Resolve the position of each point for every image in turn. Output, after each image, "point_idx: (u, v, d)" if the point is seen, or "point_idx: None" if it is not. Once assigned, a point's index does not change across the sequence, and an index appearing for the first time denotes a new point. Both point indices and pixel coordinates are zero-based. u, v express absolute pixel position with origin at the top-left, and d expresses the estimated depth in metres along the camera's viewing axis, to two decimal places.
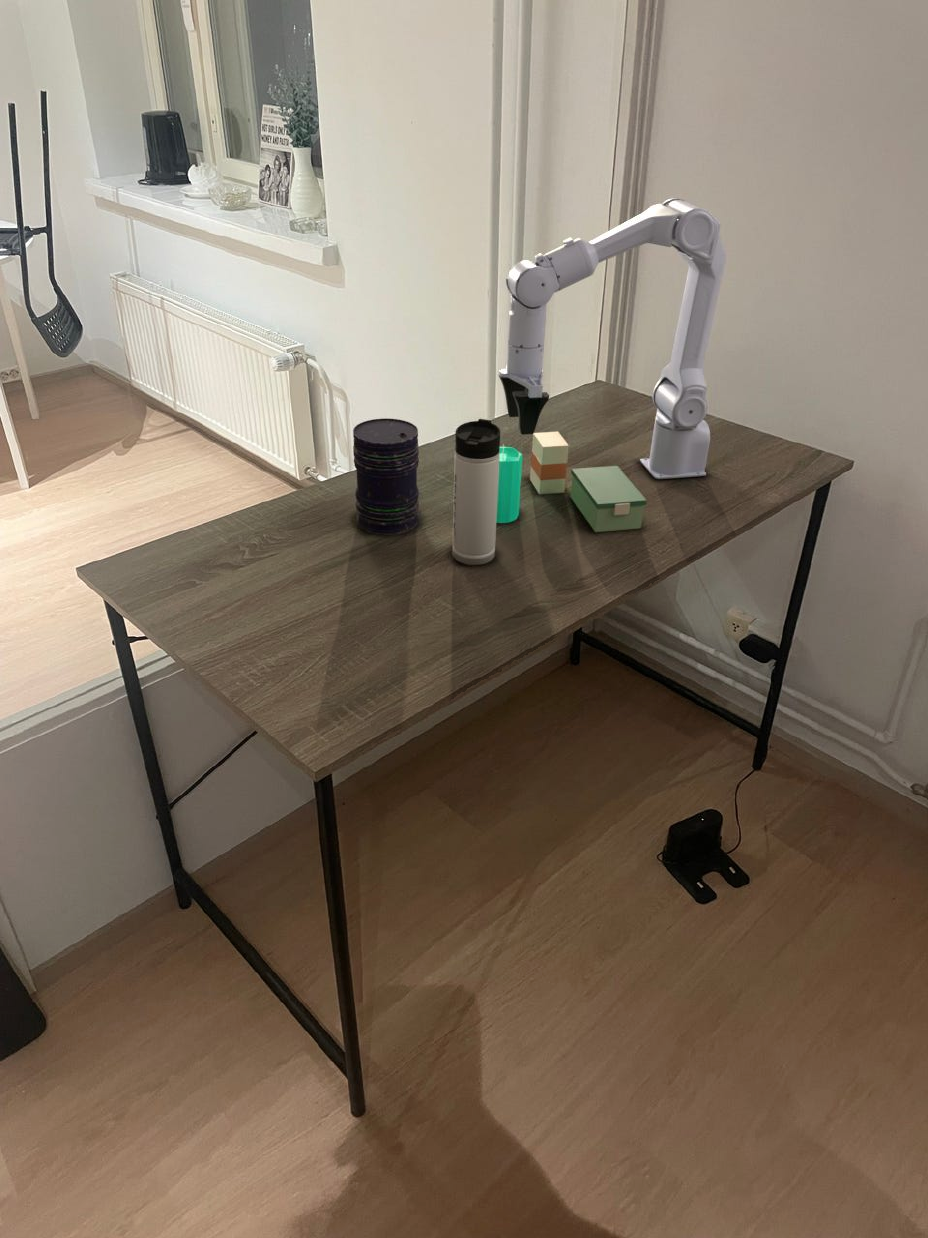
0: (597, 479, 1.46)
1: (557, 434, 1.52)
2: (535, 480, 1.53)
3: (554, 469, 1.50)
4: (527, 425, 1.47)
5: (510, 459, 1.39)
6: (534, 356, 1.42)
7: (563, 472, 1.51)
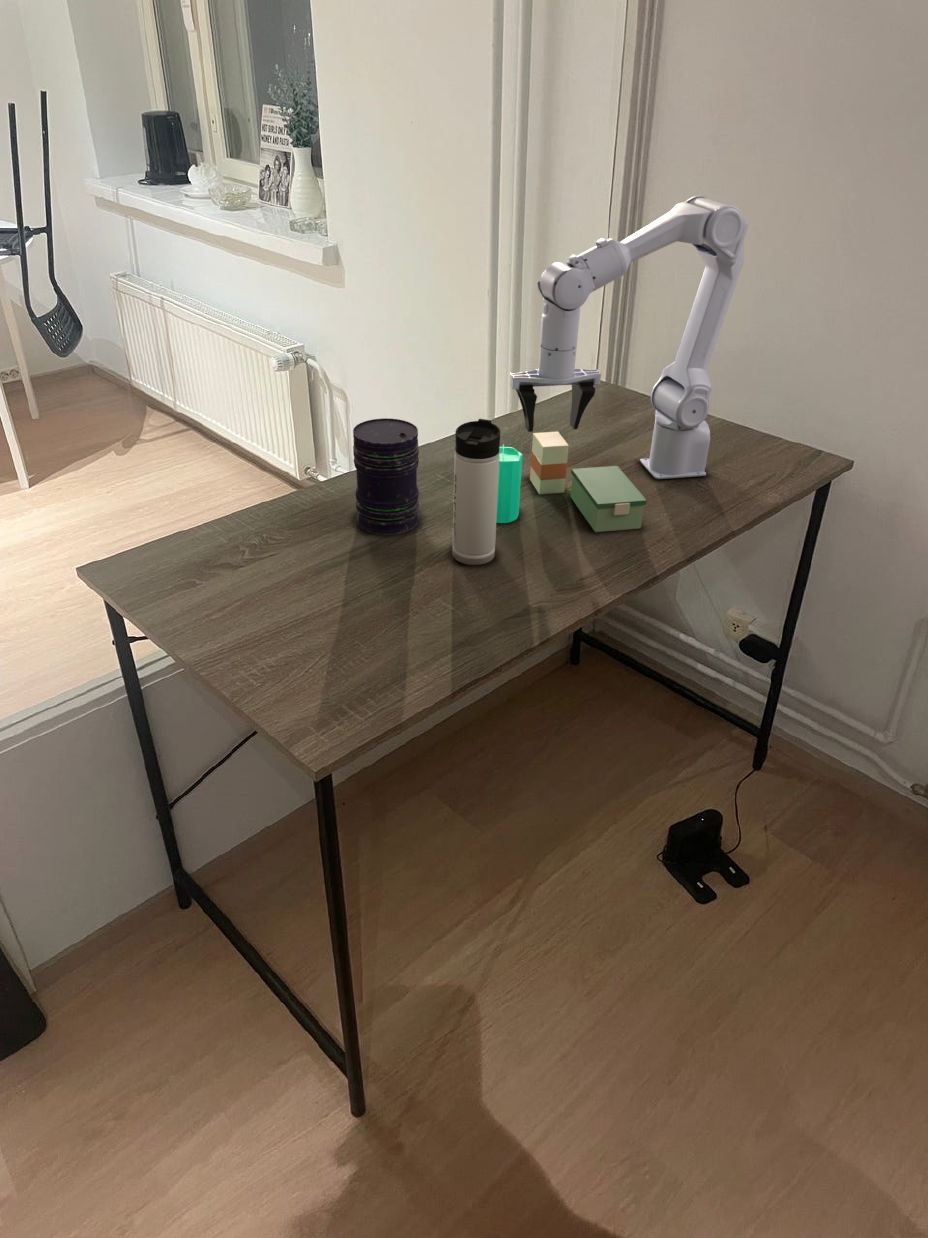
0: (597, 479, 1.46)
1: (557, 434, 1.52)
2: (535, 480, 1.53)
3: (554, 469, 1.50)
4: (526, 420, 1.48)
5: (510, 459, 1.39)
6: (541, 356, 1.41)
7: (563, 472, 1.51)
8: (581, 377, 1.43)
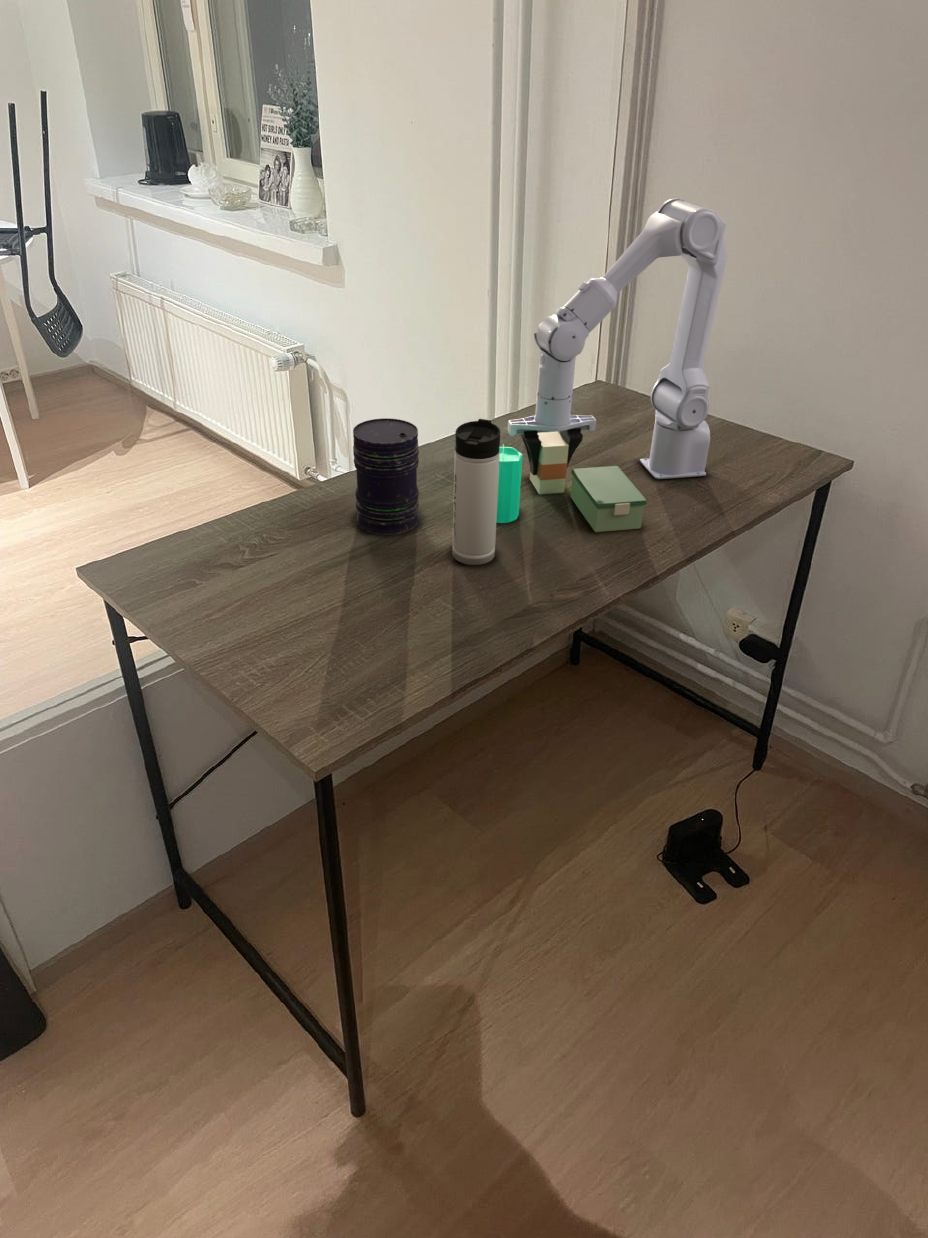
0: (597, 479, 1.46)
1: (557, 434, 1.52)
2: (535, 480, 1.53)
3: (554, 469, 1.50)
4: (531, 463, 1.52)
5: (510, 459, 1.39)
6: (538, 404, 1.46)
7: (563, 472, 1.51)
8: (577, 424, 1.48)
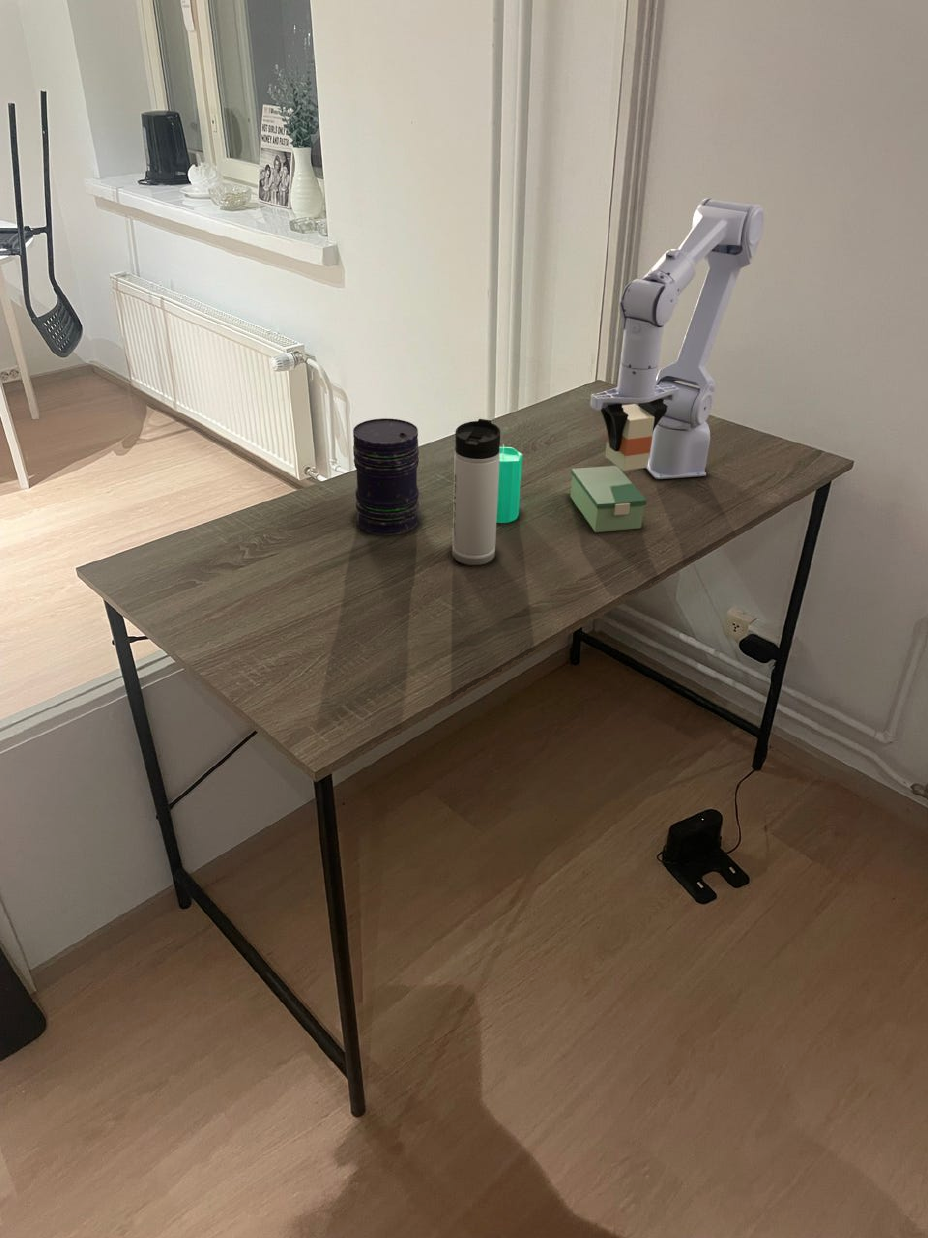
0: (597, 479, 1.46)
1: (636, 406, 1.44)
2: (616, 456, 1.45)
3: (639, 443, 1.42)
4: (612, 439, 1.44)
5: (510, 459, 1.39)
6: (624, 375, 1.37)
7: (647, 446, 1.43)
8: (662, 394, 1.40)
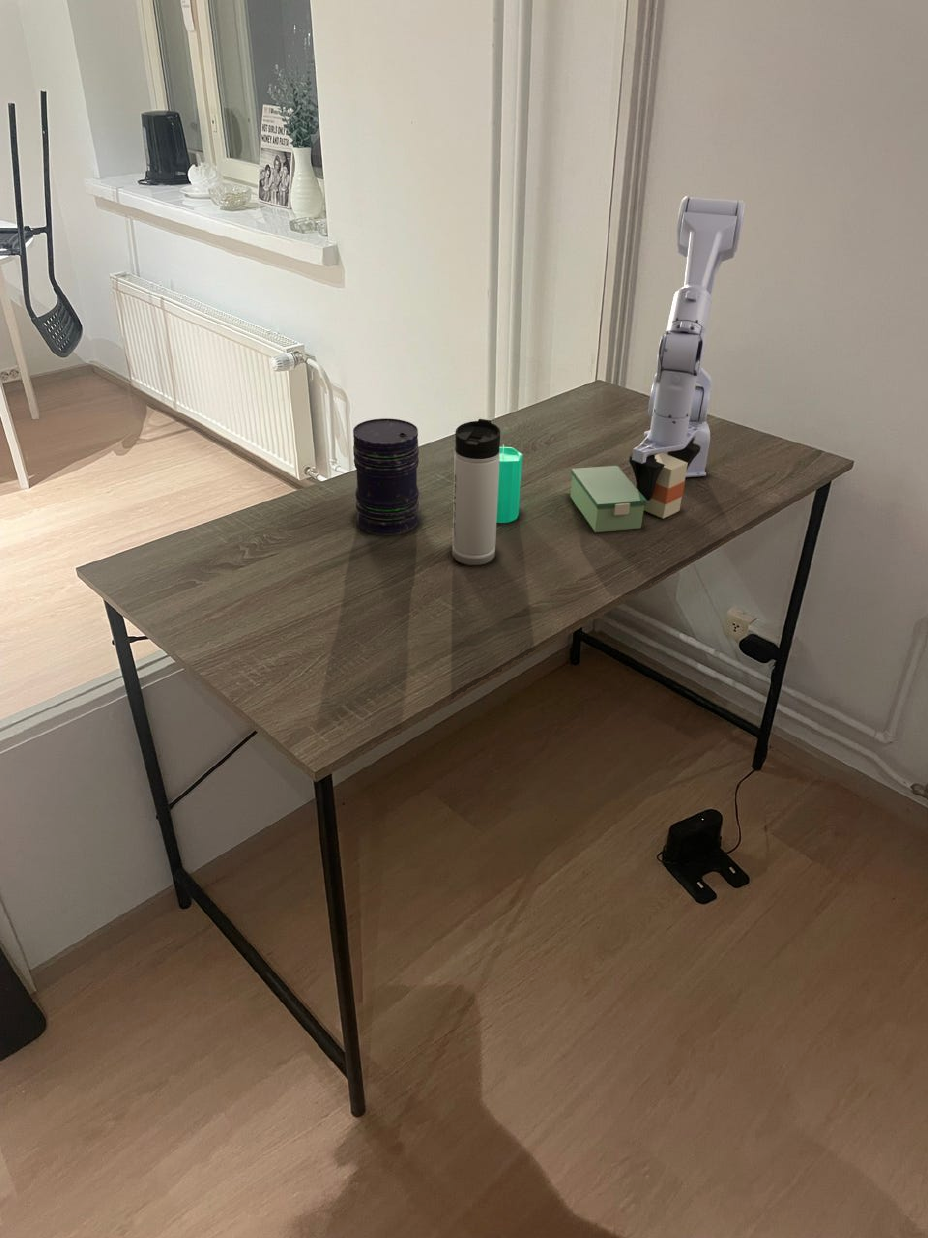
0: (597, 479, 1.46)
1: (662, 454, 1.46)
2: (651, 505, 1.47)
3: (676, 489, 1.45)
4: (642, 489, 1.44)
5: (510, 459, 1.39)
6: (663, 425, 1.39)
7: (681, 491, 1.46)
8: (691, 437, 1.43)
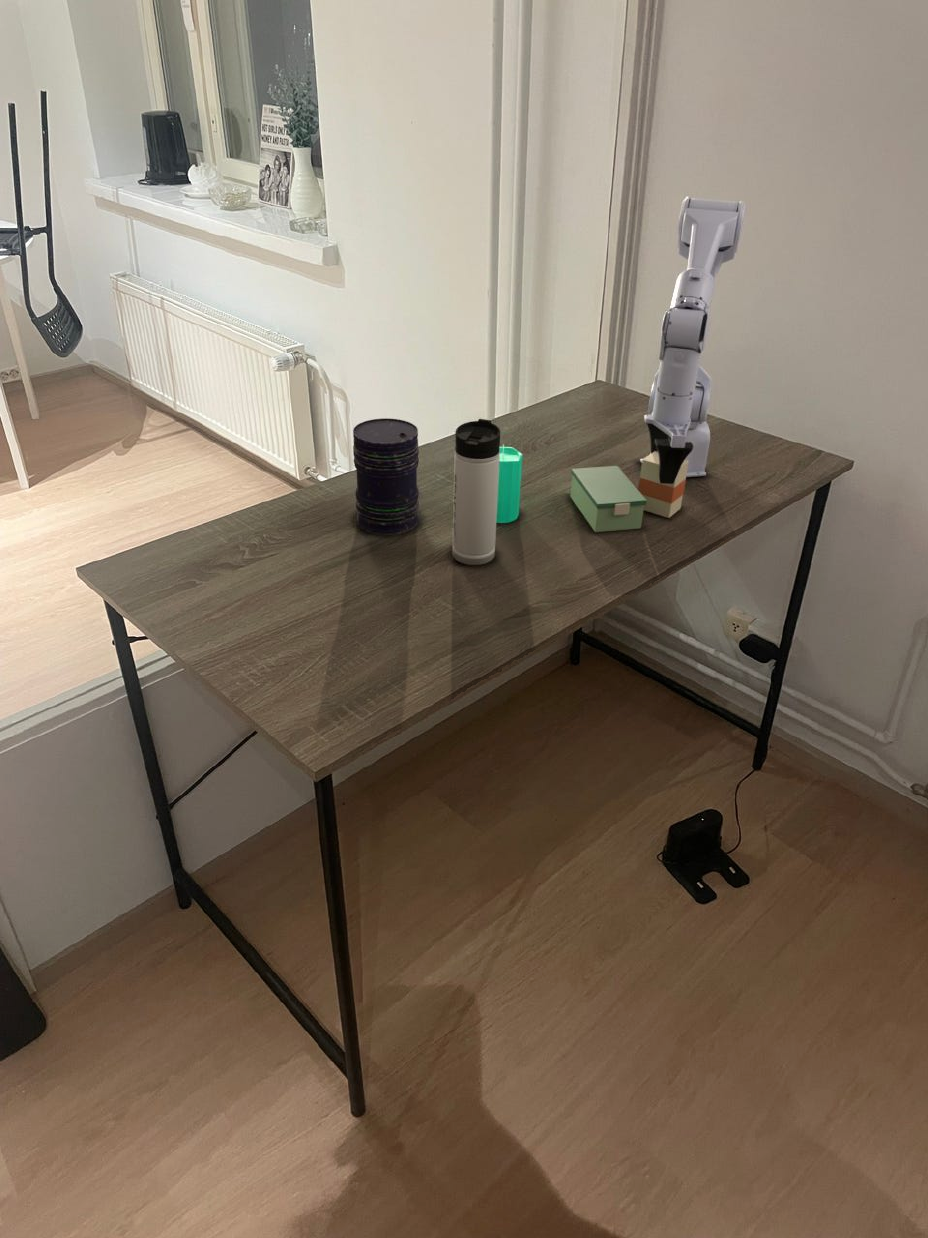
0: (597, 479, 1.46)
1: None
2: (655, 505, 1.47)
3: (679, 488, 1.45)
4: (667, 474, 1.41)
5: (510, 459, 1.39)
6: (681, 405, 1.36)
7: (683, 489, 1.47)
8: None
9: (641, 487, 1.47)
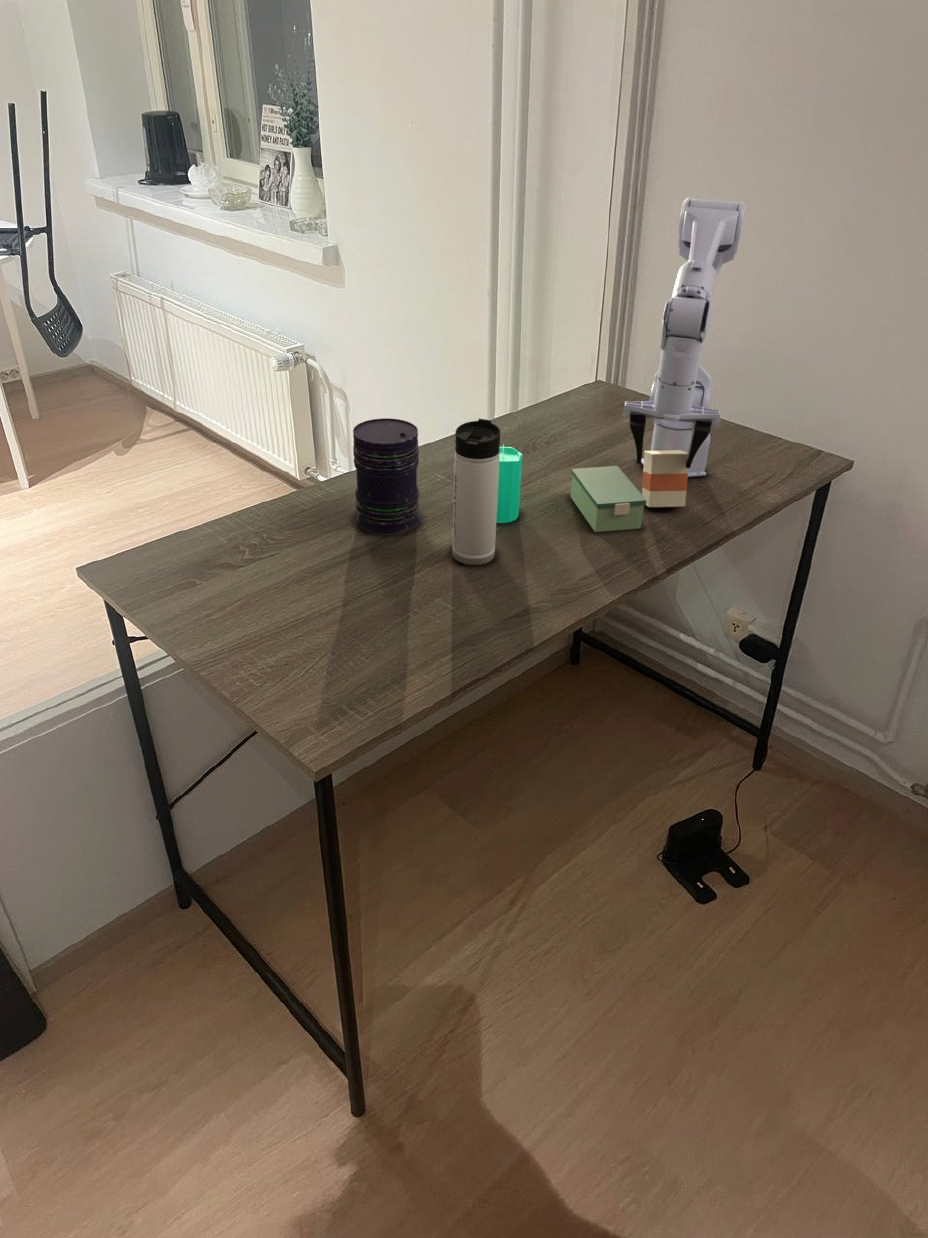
0: (597, 479, 1.46)
1: (652, 451, 1.48)
2: (670, 498, 1.46)
3: None
4: None
5: (510, 459, 1.39)
6: None
7: None
8: None
9: (654, 483, 1.45)
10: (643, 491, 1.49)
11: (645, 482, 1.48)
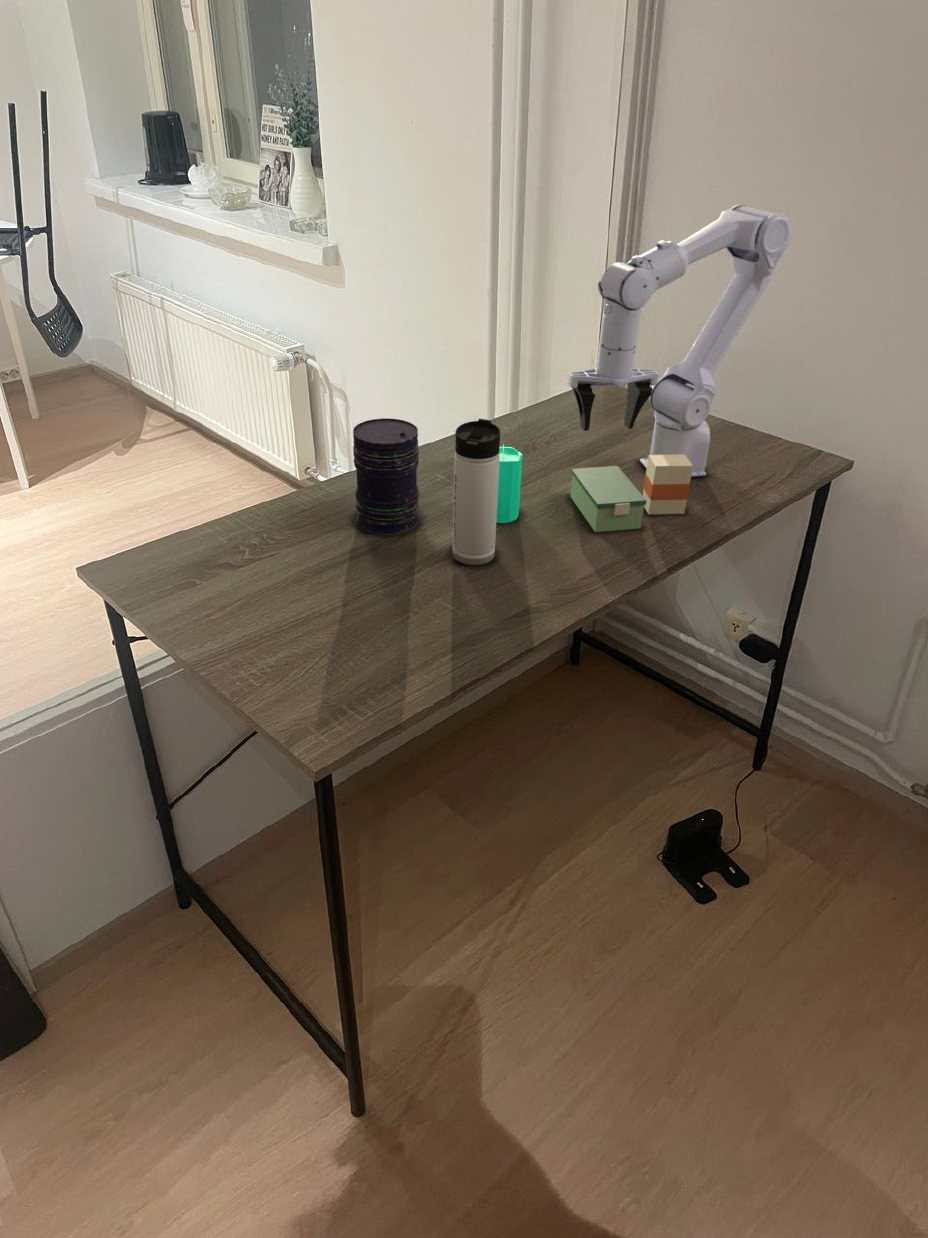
0: (597, 479, 1.46)
1: (657, 455, 1.46)
2: (670, 506, 1.47)
3: None
4: None
5: (510, 459, 1.39)
6: None
7: None
8: None
9: (655, 493, 1.45)
10: (644, 493, 1.49)
11: (647, 486, 1.47)
